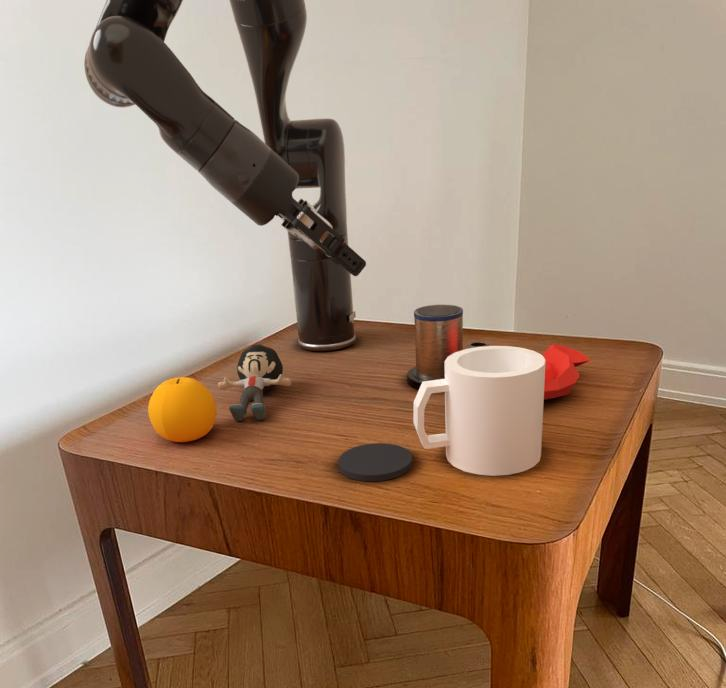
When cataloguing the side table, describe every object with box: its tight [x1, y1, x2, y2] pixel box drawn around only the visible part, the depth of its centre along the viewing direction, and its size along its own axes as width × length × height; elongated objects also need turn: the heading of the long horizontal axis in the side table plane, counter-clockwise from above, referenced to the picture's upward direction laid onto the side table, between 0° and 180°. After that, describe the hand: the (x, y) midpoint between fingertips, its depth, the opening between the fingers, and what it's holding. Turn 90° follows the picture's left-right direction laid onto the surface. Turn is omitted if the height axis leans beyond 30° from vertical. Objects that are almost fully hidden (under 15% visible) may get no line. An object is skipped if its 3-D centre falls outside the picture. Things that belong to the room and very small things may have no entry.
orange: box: [147, 376, 218, 443], centre depth 90 cm, size 8×8×8 cm
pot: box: [413, 304, 464, 379], centre depth 101 cm, size 6×6×8 cm
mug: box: [412, 345, 545, 477], centre depth 79 cm, size 14×10×11 cm
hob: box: [406, 366, 439, 391], centre depth 103 cm, size 9×9×1 cm
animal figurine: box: [541, 343, 592, 400], centre depth 97 cm, size 12×15×5 cm
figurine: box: [217, 344, 293, 422], centre depth 100 cm, size 10×7×15 cm
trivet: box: [337, 442, 413, 482], centre depth 81 cm, size 8×8×1 cm
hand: (351, 264), depth 93 cm, fingers open, 8 cm apart
